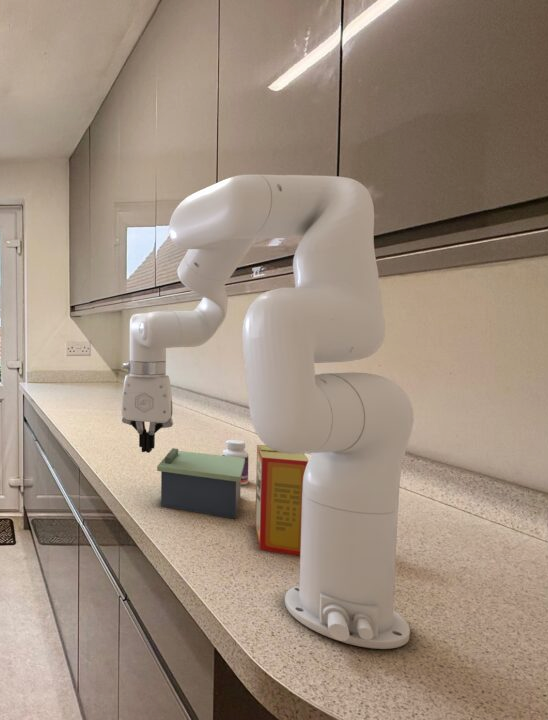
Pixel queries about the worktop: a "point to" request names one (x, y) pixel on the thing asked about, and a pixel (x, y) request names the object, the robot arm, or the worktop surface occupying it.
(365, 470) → the robot arm
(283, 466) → the baking soda box
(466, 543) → the worktop surface
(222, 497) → the storage bin
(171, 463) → the bin lid
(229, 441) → the pill bottle
